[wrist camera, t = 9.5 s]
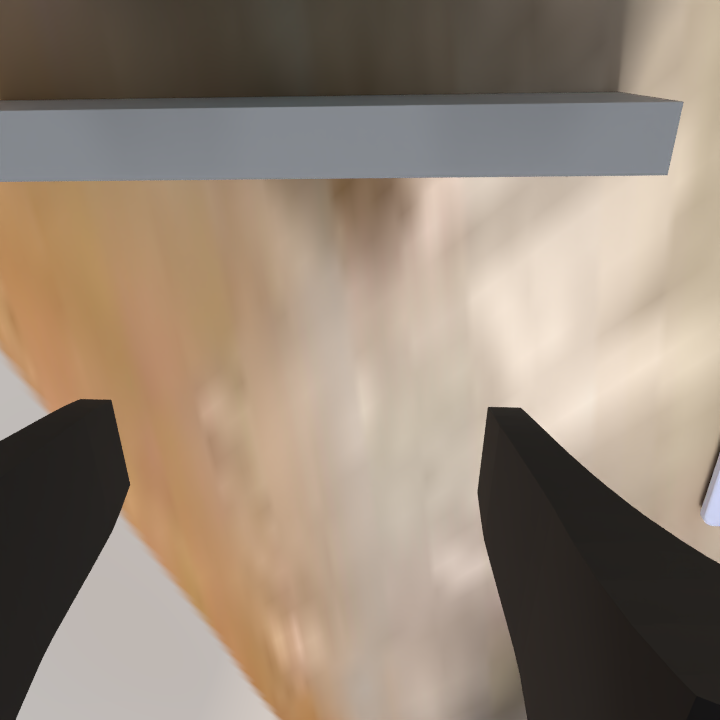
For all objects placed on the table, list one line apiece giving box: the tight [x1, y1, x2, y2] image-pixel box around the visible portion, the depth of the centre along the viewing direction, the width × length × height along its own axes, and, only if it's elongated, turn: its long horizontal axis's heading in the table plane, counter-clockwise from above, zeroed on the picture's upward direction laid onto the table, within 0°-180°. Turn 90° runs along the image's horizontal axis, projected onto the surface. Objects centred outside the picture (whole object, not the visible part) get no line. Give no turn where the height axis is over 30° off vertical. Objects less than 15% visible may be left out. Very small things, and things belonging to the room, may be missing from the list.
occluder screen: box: [0, 92, 683, 182], centre depth 16 cm, size 18×2×4 cm, turn 91°
